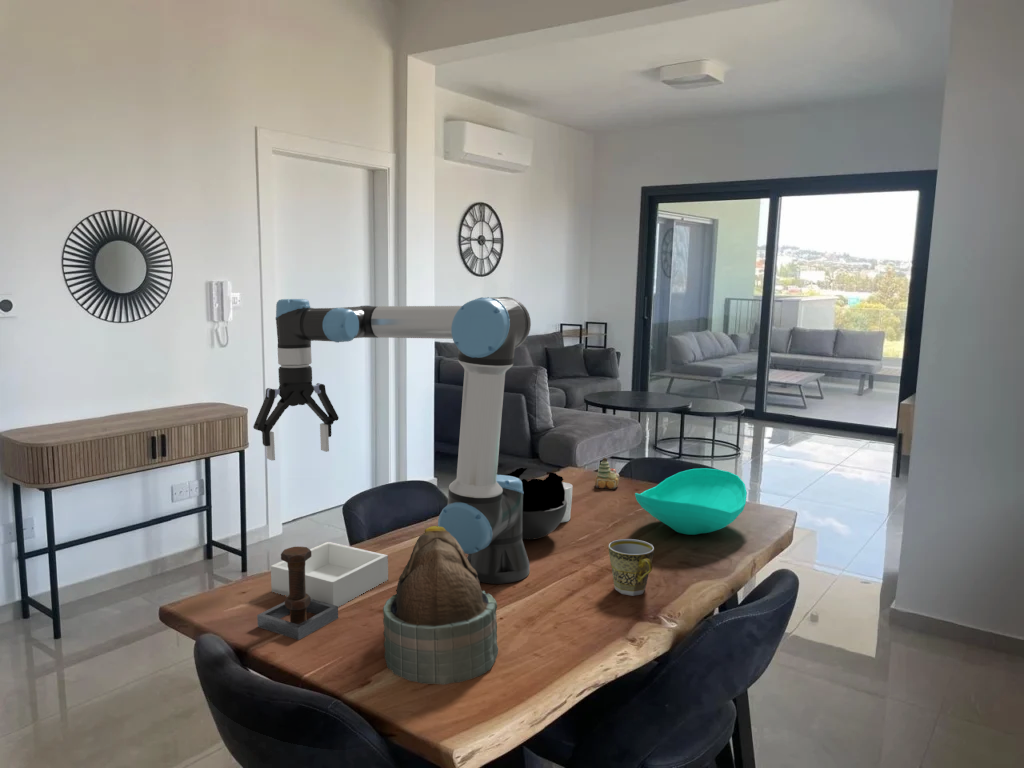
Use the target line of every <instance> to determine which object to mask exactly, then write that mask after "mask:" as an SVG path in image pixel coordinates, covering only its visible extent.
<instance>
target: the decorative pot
mask: <svg viewBox="0 0 1024 768" xmlns="http://www.w3.org/2000/svg"><path fill="white" fill-rule="evenodd" d="M477 575H478V574H477V572H476V570H475V569H474V568H473V567H472V566H471V564H470V563H469V561H468V559H467V556H466V554H465V553H464V551H463V549H462V548H461V546H460V544H459V543H458V542H457V540H456V539H455V538H454V537H453V536H452V535H451V534H450V533H449V532H448V531H446V530H445V528H443V527H439V526H438V525H431V526H429V527H426V528H425V529H424V532H423V534H421V535H420V536H419V537H418V538H417V540H416V542H415V544H414V546H413V548H412V551H411V554H410V557H409V559H408V561H407V563H406V565H405V566H404V569H403V571H402V572H401V574H400V575H399V578H398V582H397V586H396V594H393V595H392V596H391V597H389V598H388V599H386V601H385V603H384V605H383V607H382V614H383V618H382V619H383V628H384V629H383V635H384V642H383V647H384V650H385V651H384V660H385V662H386V667H387V668H388V670H390V671H391V672H392V673H393V675H396V676H397V677H401V678H403V679H405V680H407V681H409V682H413V683H414V682H417V683H418V684H419V683H420V684H427V685H434V684H435V685H448V684H453V683H462V682H465V681H468V680H472V679H476V678H477V677H480V676H482V675H485V674H486V673H488V672H489V671H490V670H491V669H492V667H493V665H494V664H495V662H496V659H497V657H498V655H499V647H498V633H497V630H498V623H497V622H498V621H497V610H498V609H497V608H498V602H497V600H496V599H495V597H493V595H492V594H490V593H486V591H485V590H482V587H481V585H480V584H481V582H479V580H478V577H477ZM487 671H488V672H487Z"/></svg>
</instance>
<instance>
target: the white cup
mask: <svg viewBox="0 0 1024 768" xmlns="http://www.w3.org/2000/svg"><path fill="white" fill-rule="evenodd" d="M562 483H563V487H564V490H565V500H566V502H567V506H566V511H565V514H564V517H563V519H562V521H561V522H560V524H561V523H566V522H569V521H570V520H571V509H572V503H573V502H572V500H573V484H571V483H569V482H563V481H562Z"/></svg>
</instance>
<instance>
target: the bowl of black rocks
mask: <svg viewBox="0 0 1024 768" xmlns="http://www.w3.org/2000/svg"><path fill="white" fill-rule="evenodd" d="M527 469H528V467H525V468H524V467H519V468H516V469H515V470H513V471H512V472H510V473H507V474H505V475H506V476H513V477H516V478H519V479H520V477H521V476H522V475H523V473H525V472H526V470H527ZM520 480H521V481H522V486H523V492H524V494H523V526H522V540H537V539H541V538H543V537H546V536H548V535H549V534H551V533H553V531H555V530H556V529H557V528H558V526H559V525H560V524H561V523H562V522H561V521H562V519H563V517H564V514H565V511H566V506H567V502H566V500H565V490H564V487H563V483H562V482H563V481H564V478H563V476H561V475H558V474H557V473H556V472H549V473H548V476H547V477H545V478H544V479H539V478H531V479H529V480H527V479H525V478H522V479H520ZM560 522H561V523H560Z"/></svg>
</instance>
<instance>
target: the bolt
mask: <svg viewBox="0 0 1024 768" xmlns="http://www.w3.org/2000/svg"><path fill="white" fill-rule="evenodd" d="M310 549H311V548H309V547H306V546H292V547H288V548H285V549H284V550H282V551H281V553H280V560H281V561H285V562H287V563H288V571H289V595H288V596H285V599H284V602H285V606H286V607H287V608H288V609H290V614H289V619H290V620H289V622H292V623H295V624H300V623H302V622H304V621H306V620H308V618H307V612H306V608H307V607H308V606H309V604H310V603H311V597H310V596H309V595H308V594H307V593H306V584H305V561H306V560H307V559H309V558H310V557H311V550H310Z"/></svg>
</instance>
